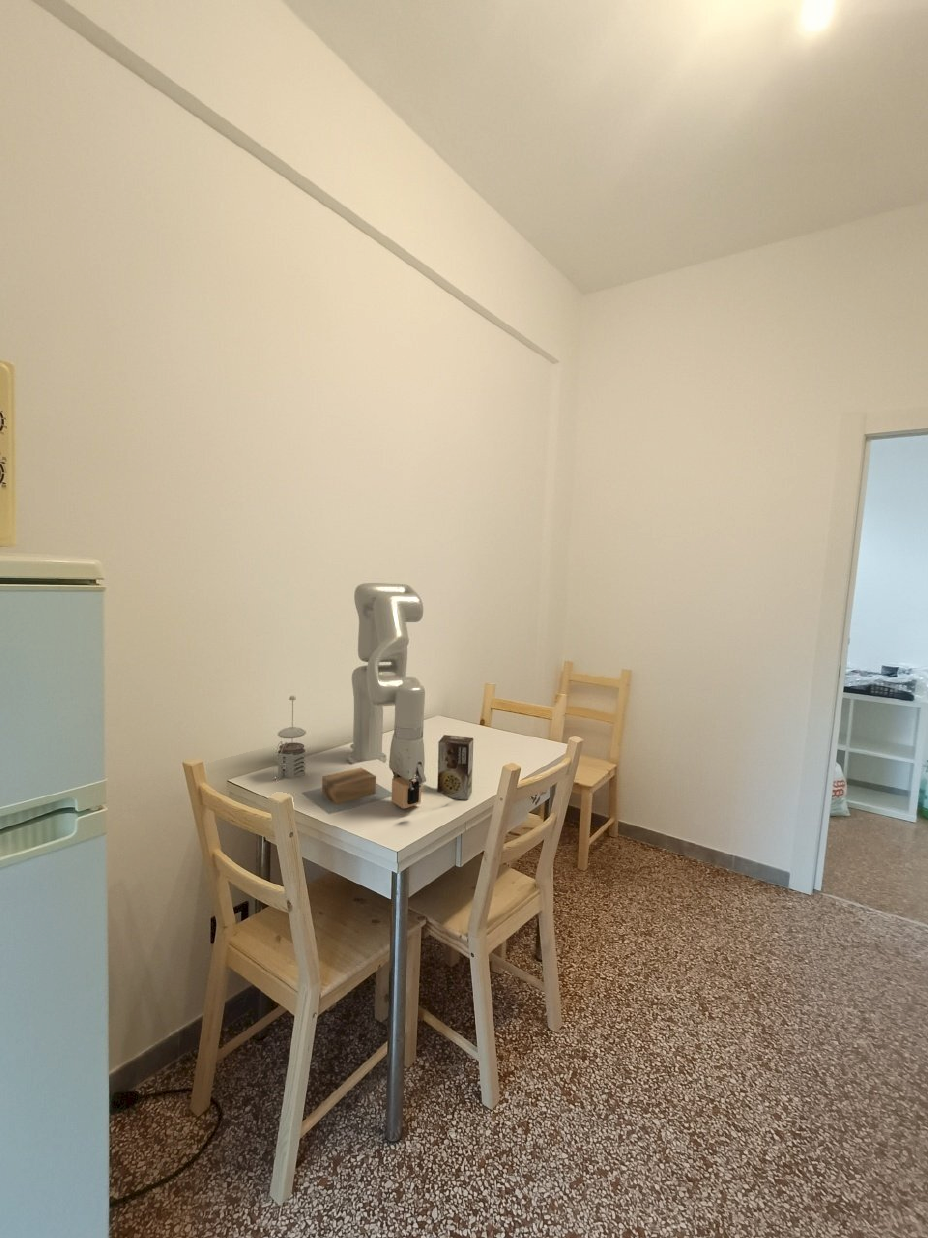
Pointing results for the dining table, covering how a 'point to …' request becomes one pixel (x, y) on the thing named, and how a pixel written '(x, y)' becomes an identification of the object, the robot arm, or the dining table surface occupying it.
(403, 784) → the peach cube
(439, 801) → the dining table surface
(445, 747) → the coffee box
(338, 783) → the walnut brick
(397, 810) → the dining table surface
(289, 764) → the french press
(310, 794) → the base plate
